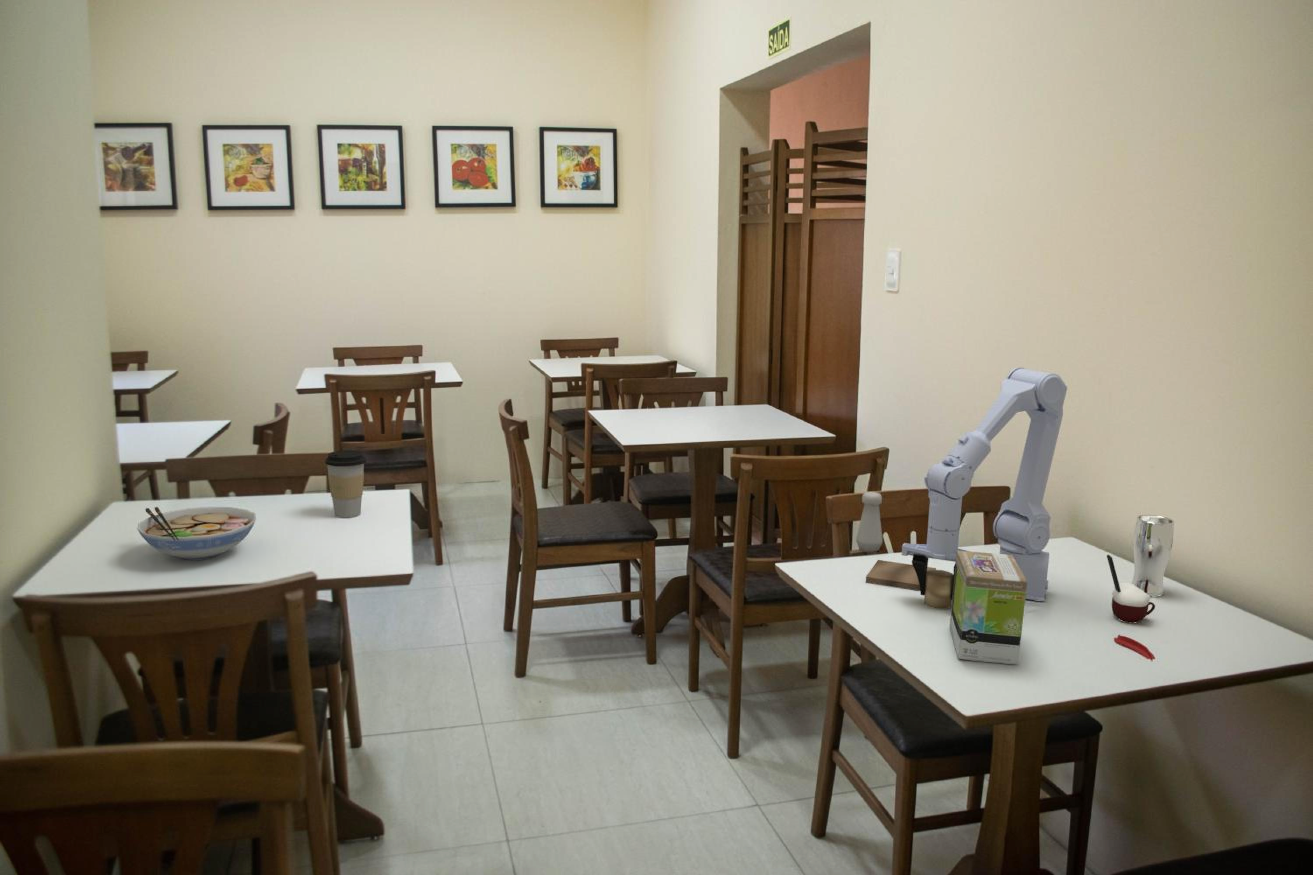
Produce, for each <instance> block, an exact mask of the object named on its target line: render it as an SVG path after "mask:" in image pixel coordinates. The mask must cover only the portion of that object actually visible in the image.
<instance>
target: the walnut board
mask: <svg viewBox="0 0 1313 875" xmlns="http://www.w3.org/2000/svg"><path fill="white" fill-rule="evenodd" d="M929 570H937V568H936V567H930V566H927V571H929ZM865 583H866V584H874V585H881V586H885V587H887V586H888V587H894V588H900V589H906V590H913V591H920V585H919V581H918V577H917V574H916V572H915V569H914V567H913V565H912V563H911V564H910V563H902V562H894V561H889V560H882V559H877V561H876V562H875V564H874V565H873V566H872V568H871V569H870V571H869V572H868V574H866V577H865Z"/></svg>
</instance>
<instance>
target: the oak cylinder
mask: <svg viewBox="0 0 1313 875" xmlns="http://www.w3.org/2000/svg"><path fill="white" fill-rule="evenodd" d="M953 574H954V573H953V572H950V571H946V570H941V569H936V570H929V571H927V572H926V584H925V595H924V596H923V597H924V601H923V604H924V605H925V606H927V607H929V608H932V609H936V610H937V609H938V610H946V609H951V604H952V600H951V593H952V587H953Z"/></svg>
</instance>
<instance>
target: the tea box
mask: <svg viewBox="0 0 1313 875" xmlns="http://www.w3.org/2000/svg"><path fill="white" fill-rule="evenodd" d="M970 551H971V550H967V551H957V554H956V561H955V562H954V565H955V573H954V572H953V574H954V583H953V593H952V603H951V607H950V615H949V616H950V617H949V629H950V632H951V636H952V640H953V644H954V647H955V651H956V656H957V659H959V660H966V661H974V662H983V663H995V664H1003V665H1018V663H1019V659H1020V658H1019V657H1020V650H1021V649H1020V648H1021V639H1022V633H1023V623H1024V616H1025V605H1026V600H1027V599H1026V589H1027V581H1026V578H1025V576H1024V574H1023V573H1022V571H1021V569H1020V567H1019V566H1018V564H1017V562H1016V560H1015V559H1014V557H1013V555H1007V554H1000V553H992V552H981V551H971V552H970Z"/></svg>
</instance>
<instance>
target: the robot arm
mask: <svg viewBox="0 0 1313 875" xmlns="http://www.w3.org/2000/svg"><path fill="white" fill-rule="evenodd" d="M1067 391H1068V386H1067V385H1066V383H1065V381H1064V380H1063V379H1062V377H1061V376H1060V374H1057V373H1053V372H1044V371H1038V370H1034V369H1027V368H1025V367H1022V366H1021V367H1015V368H1013V369H1011V371H1009V372H1008V374H1007V376H1006V378H1005V379H1004V380H1002V382H1000V393H999V395H998V396H997V397H996V399H995V401H994V402H993V404H992V405H991V407H990V408H989V409H988V411H987V412H986V414H985V415H984V416H983V418H982V420H981V421H980V422H979V425H978V426H977V427H976V428H975V430H973V431H967V432H965V433H964V434H961V435H960V436H959V438H958V441H957V442H956V444H954V445H953V448H952V449H951V450H950V451H949V453H948V454H947V455H946V456H945V457H944V458H943V460H942V461H941V462H938V463H935V464H934V465H932V466H931V467H930V468H929V469H928V472H927V474H926V476H924V484H925V487H926V489H927V490H928V496H927V498H929V507H928V522H927V536H926V544H923V543H921V544H920V543H906V542H904V543H903V544H902V545H901V556H904V557H908V556H912V560H911V565H913V567H914V569H915V572H916V574H917V577H918V581H919V585H920V593H919V594H920V596H925V584H926V572H927V567H929V566H928V564H929V559H932V560H940V561H946V562H947V561H948V562H954V563H955V561H956V554H957V551H968V550H966V549H962V548H959V542H960V539H959V538H960V527H961V525H960V524H961V515H962V505H963V504H962V502H963V496H965V495H966V494H967V493H968V492H969V491H970V489H971V486H972V479H973V478H974V477H975V476H974V475H975V471H977V469H978V468H979V467H980V465H981V464H982V463H983V461H985V459H986V458H987V457H988V455H989V454H990V453H991V451H992V448H991V442H992V441H993V439H994V438H995V437H996V436H997V435H998V434H999V433H1000V431H1002V429H1004V427H1006V425H1007V424H1008V423H1009V422H1010V421H1011V420H1012V419H1013V418H1014V417H1015V415H1017V414H1018V413H1019V412H1026V414H1027V415H1028V417H1029V418H1030V422H1029V427H1028V430H1027V436H1026V439H1025V444H1024V447H1023V453H1022V456H1021V461H1020V464H1019V465H1020V466H1019V470H1018V473H1017V478H1016V482H1015V486H1014V490H1013V494H1012V497H1011V498H1009V499H1007V500H1005V501H1004V502H1002V503H1001V506H1000V509H999V512H998V514H997V515H996V517H995V518H994V521H993V525H992V532H993V535H994V537H995V538H996V539H997V545H998V546H1000V547H999V554H1007V555H1013V557H1014V559H1015V560H1016V562H1017V564H1018V566H1019V567H1020V569H1021V571H1022V573H1023V574H1024V576H1025V578H1026V581H1027V589H1026V599H1025V600H1031V601H1038V602H1044V601H1045V598H1046V597H1045V596H1046V591H1047V590H1048V588H1049V580H1048V574H1049V573H1048V572H1049V563H1050V552H1048V551H1043V550H1044V549H1045V548H1046V546H1047V545H1048V543H1049V542H1050V541H1049V540H1050V536H1051V530H1050V522H1051V518H1052V517H1051V515H1050V513H1049V512H1048V510H1047V509H1046V507H1045V506H1044V504H1043V501H1044V498H1045V492H1046V488H1047V484H1048V479H1049V475H1050V471H1051V467H1052V463H1053V459H1054V455H1055V450H1056V447H1057V442H1058V437H1059V434H1060V428H1061V426H1062V421H1063V416H1064V404H1065V398H1066V395H1067ZM969 551H970V552H972V551H971V550H969ZM954 573H955V564H954V565H953V573H952V574H953V583H954ZM952 593H953V587H952ZM952 593H951V600H952Z"/></svg>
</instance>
